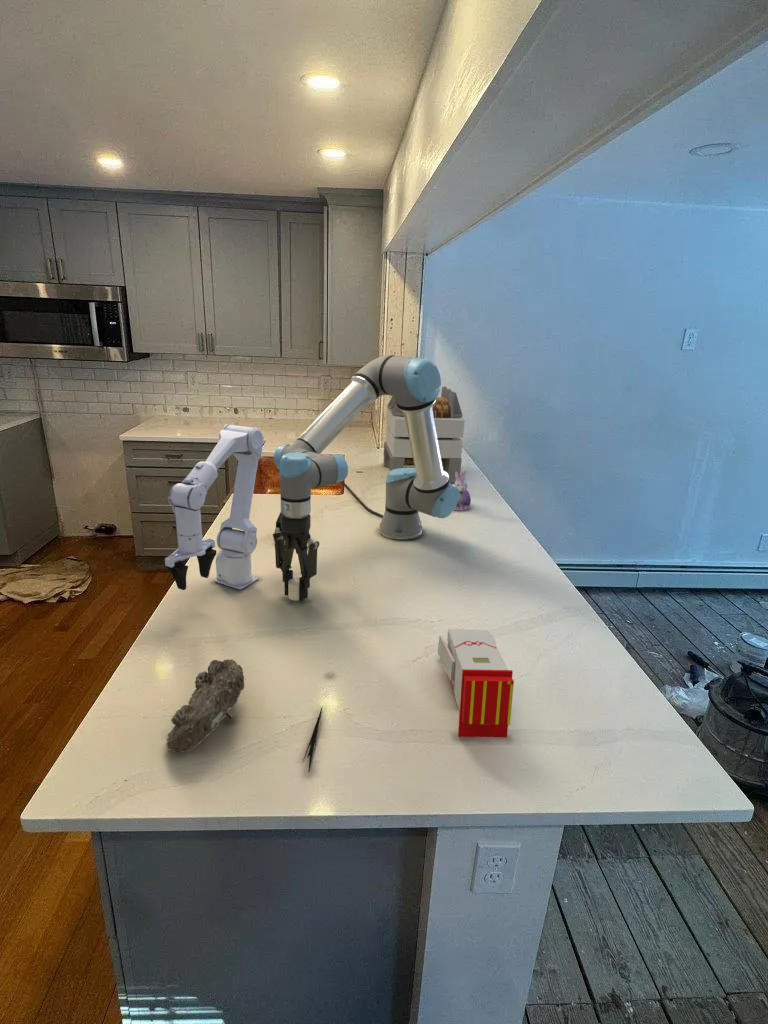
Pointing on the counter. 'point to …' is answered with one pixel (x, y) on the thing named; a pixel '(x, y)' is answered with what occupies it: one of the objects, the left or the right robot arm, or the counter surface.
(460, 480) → the figurine
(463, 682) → the toy
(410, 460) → the white slatted crate
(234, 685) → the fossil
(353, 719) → the counter surface
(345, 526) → the counter surface
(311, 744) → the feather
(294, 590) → the can
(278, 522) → the black wheeled cart
